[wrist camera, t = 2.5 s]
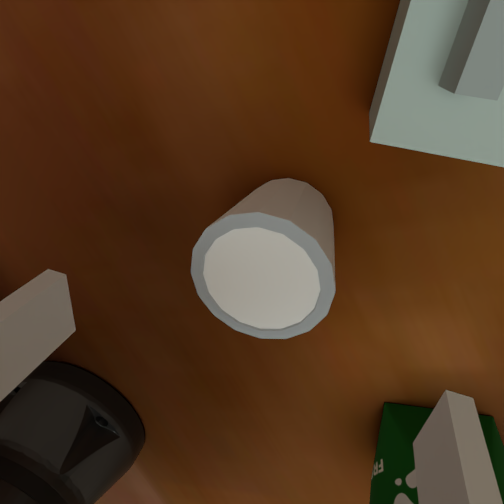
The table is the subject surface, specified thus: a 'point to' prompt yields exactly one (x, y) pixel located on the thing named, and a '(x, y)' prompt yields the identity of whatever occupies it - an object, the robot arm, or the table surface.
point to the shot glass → (269, 261)
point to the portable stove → (443, 81)
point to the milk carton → (402, 454)
